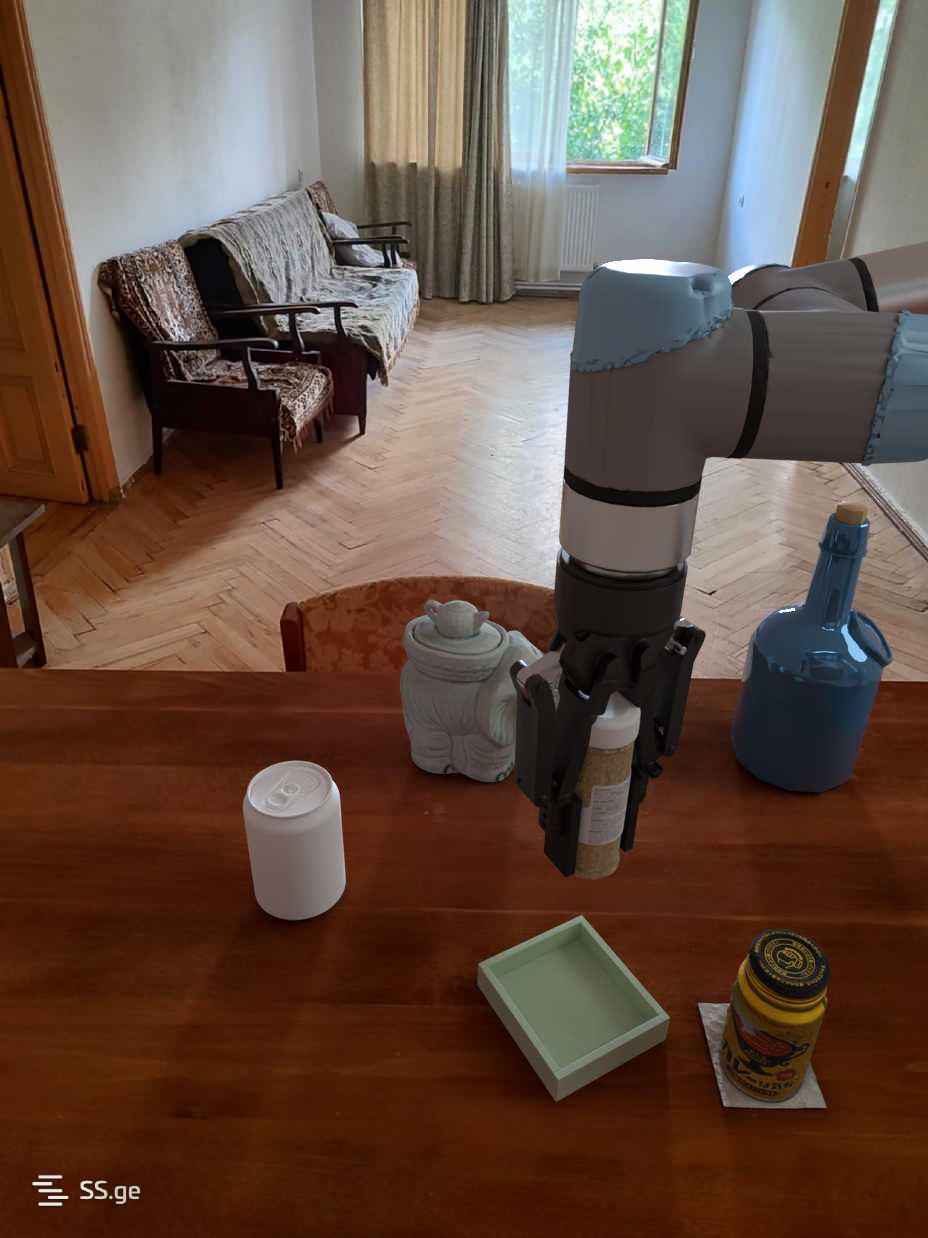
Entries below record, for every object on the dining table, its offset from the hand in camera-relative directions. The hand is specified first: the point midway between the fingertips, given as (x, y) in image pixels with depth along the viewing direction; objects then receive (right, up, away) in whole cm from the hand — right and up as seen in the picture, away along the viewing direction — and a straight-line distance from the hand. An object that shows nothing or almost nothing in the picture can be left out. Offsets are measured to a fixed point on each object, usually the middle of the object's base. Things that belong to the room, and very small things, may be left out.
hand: (588, 850), depth 62 cm
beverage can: (-24, -8, +18) cm, 31 cm away
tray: (-1, -15, +7) cm, 16 cm away
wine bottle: (+27, +1, +35) cm, 44 cm away
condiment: (+13, -17, +4) cm, 22 cm away
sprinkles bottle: (0, -1, 0) cm, 1 cm away
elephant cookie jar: (-6, +1, +34) cm, 35 cm away
